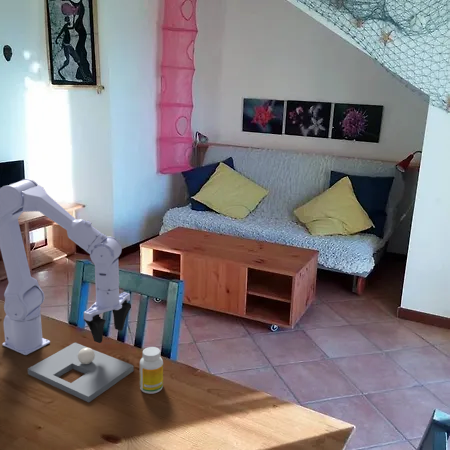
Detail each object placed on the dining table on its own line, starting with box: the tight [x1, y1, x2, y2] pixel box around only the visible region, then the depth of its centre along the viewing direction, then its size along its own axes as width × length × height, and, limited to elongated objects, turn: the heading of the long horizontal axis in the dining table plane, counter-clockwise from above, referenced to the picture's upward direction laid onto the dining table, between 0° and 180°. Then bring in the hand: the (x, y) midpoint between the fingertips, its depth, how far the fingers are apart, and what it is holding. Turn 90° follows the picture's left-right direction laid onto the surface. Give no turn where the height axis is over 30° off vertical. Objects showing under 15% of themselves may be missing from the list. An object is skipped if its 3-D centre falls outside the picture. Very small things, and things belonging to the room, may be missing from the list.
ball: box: [78, 346, 95, 364], centre depth 124 cm, size 4×4×4 cm
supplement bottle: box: [139, 346, 164, 395], centre depth 117 cm, size 5×5×10 cm
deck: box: [27, 342, 134, 403], centre depth 123 cm, size 20×15×2 cm
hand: (108, 335), depth 129 cm, fingers open, 7 cm apart
